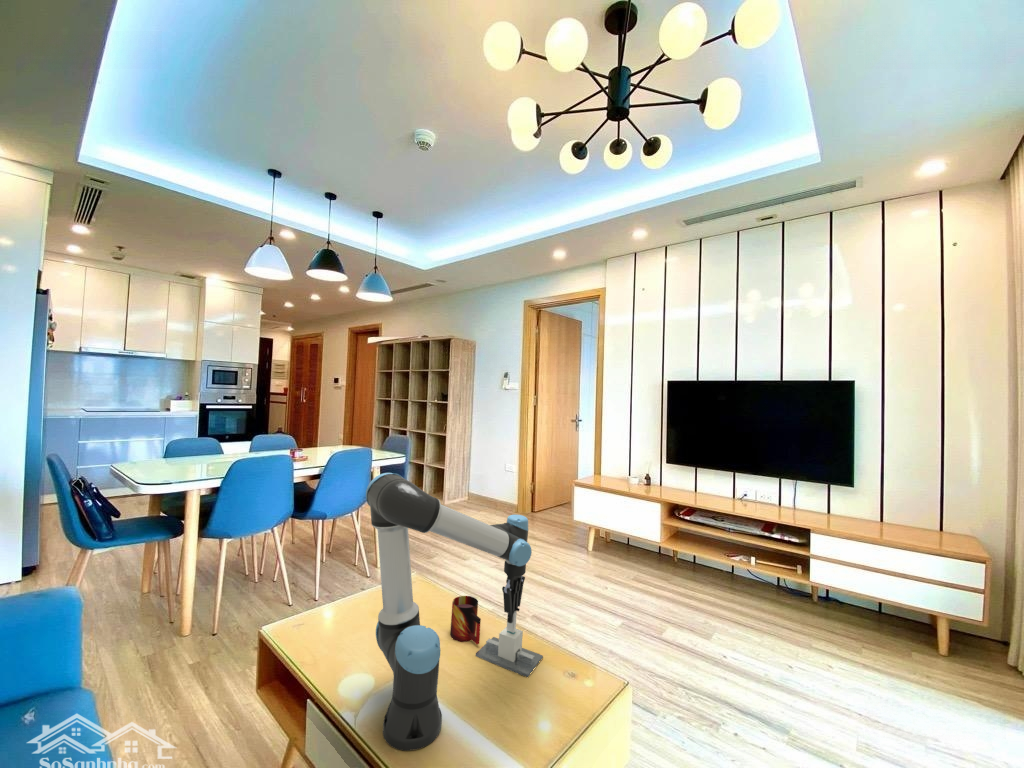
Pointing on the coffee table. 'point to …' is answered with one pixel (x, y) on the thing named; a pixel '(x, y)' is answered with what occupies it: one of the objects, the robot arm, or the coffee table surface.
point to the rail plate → (521, 665)
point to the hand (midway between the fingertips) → (511, 630)
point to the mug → (465, 619)
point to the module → (509, 644)
